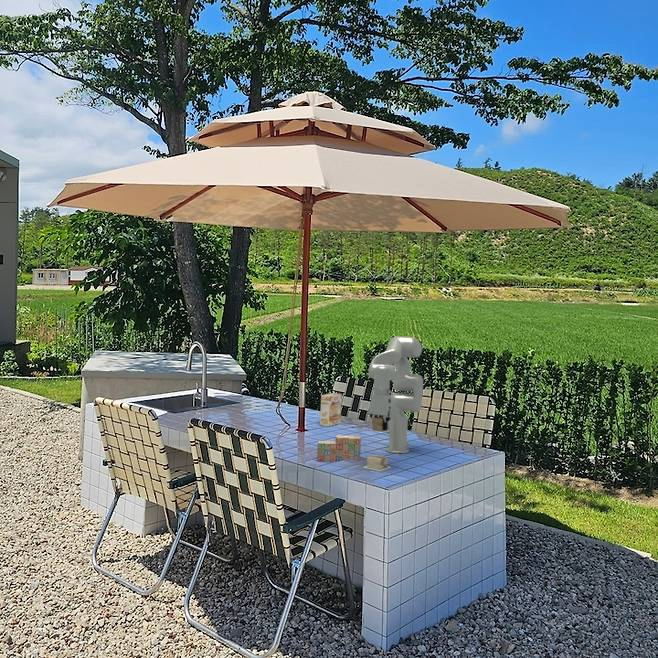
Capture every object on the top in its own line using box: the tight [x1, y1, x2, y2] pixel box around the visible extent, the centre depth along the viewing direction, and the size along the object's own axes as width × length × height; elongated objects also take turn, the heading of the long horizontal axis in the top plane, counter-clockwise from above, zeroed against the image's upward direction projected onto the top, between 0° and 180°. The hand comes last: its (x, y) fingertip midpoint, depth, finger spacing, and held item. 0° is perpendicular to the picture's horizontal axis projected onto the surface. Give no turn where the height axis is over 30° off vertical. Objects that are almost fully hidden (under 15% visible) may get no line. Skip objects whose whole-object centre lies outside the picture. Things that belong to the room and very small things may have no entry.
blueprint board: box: [356, 463, 398, 474], centre depth 333 cm, size 14×14×1 cm
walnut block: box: [372, 416, 387, 432], centre depth 332 cm, size 5×5×6 cm
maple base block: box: [366, 454, 388, 470], centre depth 333 cm, size 7×7×5 cm
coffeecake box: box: [319, 392, 343, 427], centre depth 440 cm, size 15×7×20 cm, turn 148°
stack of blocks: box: [316, 434, 362, 462], centre depth 349 cm, size 21×6×12 cm, turn 94°
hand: (379, 428), depth 332 cm, fingers closed on walnut block, 5 cm apart
